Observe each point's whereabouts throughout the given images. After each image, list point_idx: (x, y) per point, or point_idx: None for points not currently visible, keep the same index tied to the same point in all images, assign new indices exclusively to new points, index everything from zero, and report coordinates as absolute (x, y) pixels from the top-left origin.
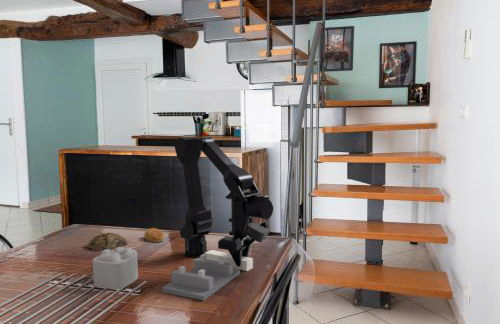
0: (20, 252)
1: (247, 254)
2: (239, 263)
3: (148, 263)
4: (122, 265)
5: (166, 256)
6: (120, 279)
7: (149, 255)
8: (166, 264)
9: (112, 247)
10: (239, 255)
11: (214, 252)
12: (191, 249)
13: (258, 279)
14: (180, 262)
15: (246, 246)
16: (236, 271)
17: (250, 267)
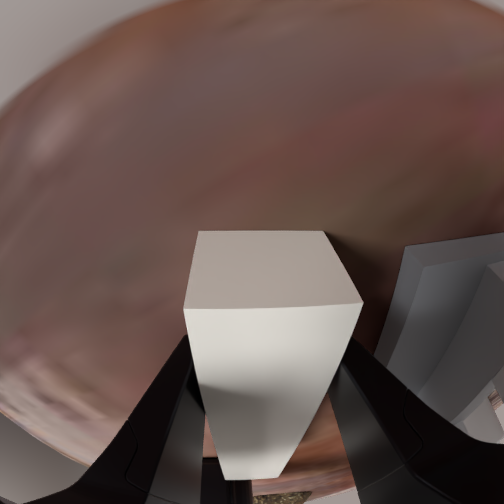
0: (345, 491)
1: (169, 398)
2: (354, 340)
3: (348, 463)
4: (499, 433)
5: (283, 474)
6: (492, 410)
7: (294, 480)
8: (345, 454)
9: (292, 495)
10: (429, 409)
11: (253, 472)
12: (251, 486)
13: (451, 44)
14: (316, 454)
15: (162, 498)
16: (454, 269)
17: (249, 240)
